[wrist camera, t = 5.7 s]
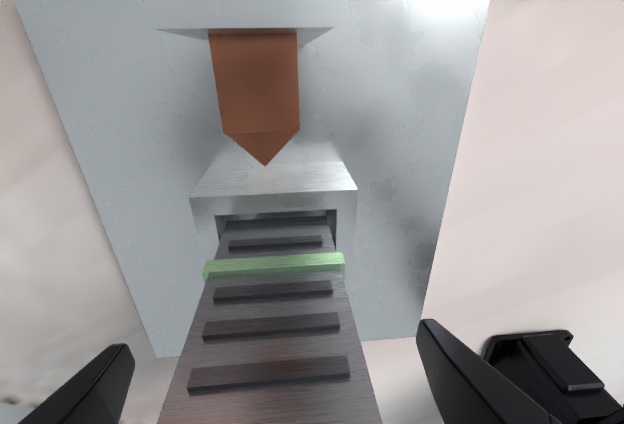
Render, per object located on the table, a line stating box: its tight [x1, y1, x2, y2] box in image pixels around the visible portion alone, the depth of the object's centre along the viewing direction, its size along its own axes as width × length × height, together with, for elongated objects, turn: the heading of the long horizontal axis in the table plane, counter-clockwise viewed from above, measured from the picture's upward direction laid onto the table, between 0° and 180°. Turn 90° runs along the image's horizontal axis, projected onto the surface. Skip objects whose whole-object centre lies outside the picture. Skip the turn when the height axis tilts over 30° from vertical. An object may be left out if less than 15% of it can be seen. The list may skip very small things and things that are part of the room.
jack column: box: [157, 216, 382, 424], centre depth 9 cm, size 4×4×8 cm
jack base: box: [13, 0, 490, 358], centre depth 13 cm, size 20×18×9 cm
